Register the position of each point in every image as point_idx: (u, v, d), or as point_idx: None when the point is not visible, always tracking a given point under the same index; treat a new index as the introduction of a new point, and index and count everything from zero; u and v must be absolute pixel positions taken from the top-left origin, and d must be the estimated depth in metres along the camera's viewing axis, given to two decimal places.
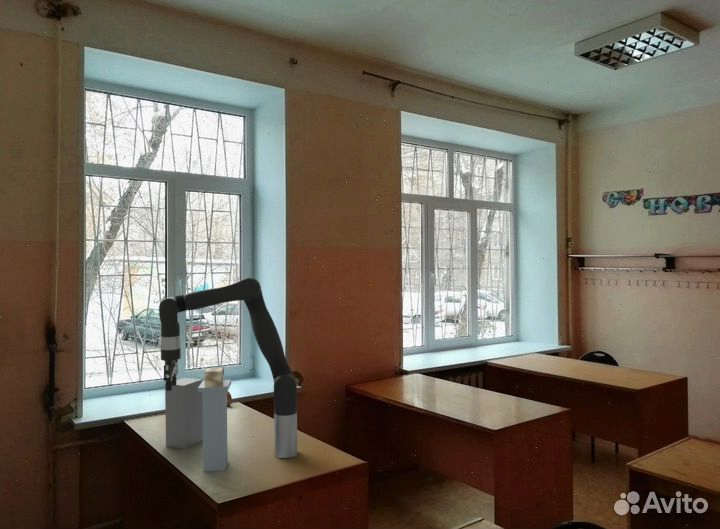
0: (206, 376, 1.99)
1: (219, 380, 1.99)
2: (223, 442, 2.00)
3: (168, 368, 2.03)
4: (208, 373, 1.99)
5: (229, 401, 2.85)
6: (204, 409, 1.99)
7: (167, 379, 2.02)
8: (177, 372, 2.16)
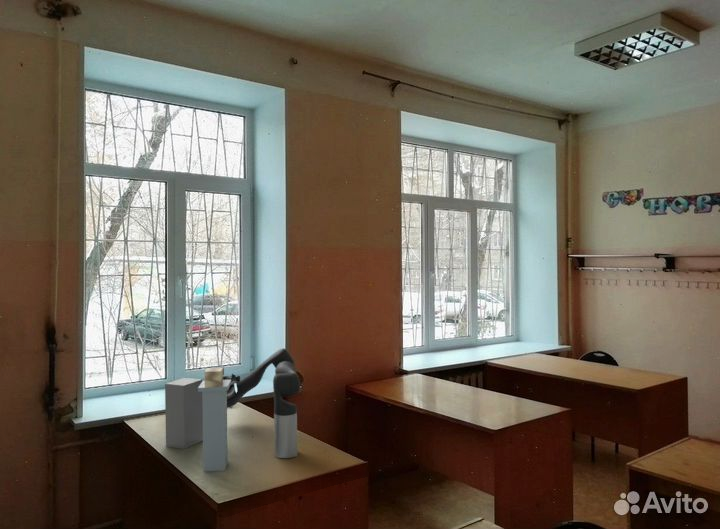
0: (206, 376, 1.99)
1: (219, 380, 1.99)
2: (223, 442, 2.00)
3: (239, 382, 2.38)
4: (208, 373, 1.99)
5: None
6: (204, 409, 1.99)
7: (239, 379, 2.35)
8: None
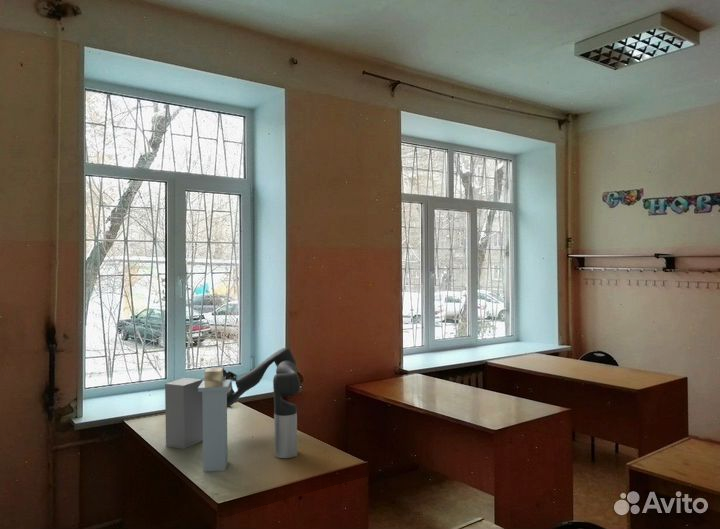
0: (206, 376, 1.99)
1: (219, 380, 1.99)
2: (223, 442, 2.00)
3: (235, 378, 2.21)
4: (208, 373, 1.99)
5: None
6: (204, 409, 1.99)
7: (230, 374, 2.18)
8: None
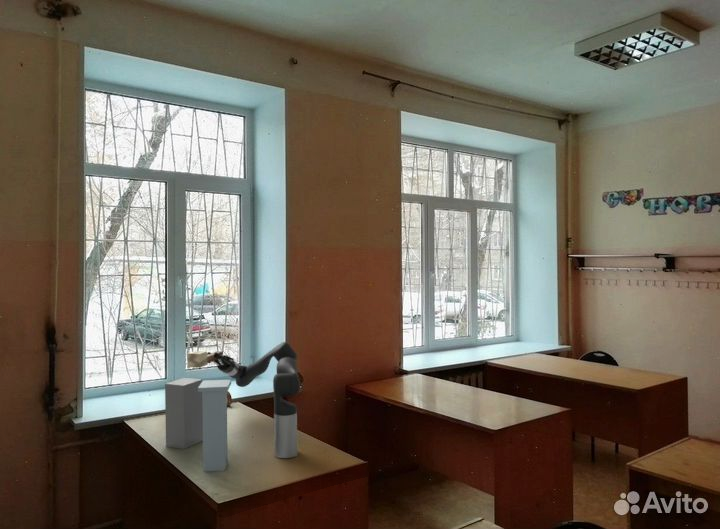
0: (188, 357, 2.30)
1: (198, 361, 2.29)
2: (223, 442, 2.00)
3: (231, 361, 2.49)
4: (190, 355, 2.30)
5: (229, 401, 2.85)
6: (204, 409, 1.99)
7: (224, 358, 2.46)
8: None
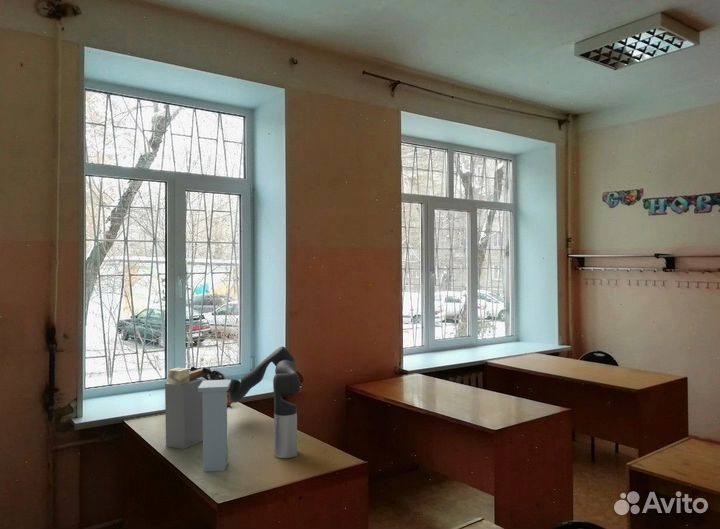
0: (169, 374, 2.25)
1: (178, 379, 2.24)
2: (223, 442, 2.00)
3: (219, 377, 2.43)
4: (171, 372, 2.25)
5: (229, 401, 2.85)
6: (204, 409, 1.99)
7: (213, 373, 2.40)
8: None
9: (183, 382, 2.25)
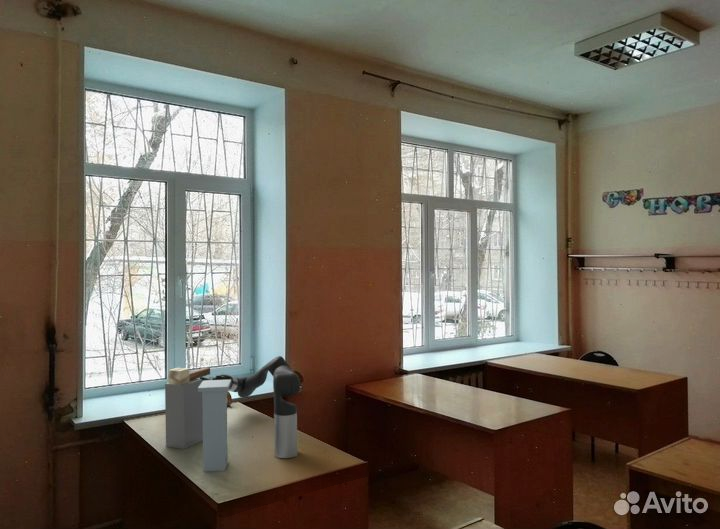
0: (169, 374, 2.25)
1: (178, 379, 2.24)
2: (223, 442, 2.00)
3: (231, 381, 2.53)
4: (171, 372, 2.25)
5: (229, 401, 2.85)
6: (204, 409, 1.99)
7: (227, 378, 2.49)
8: None
9: (183, 382, 2.25)
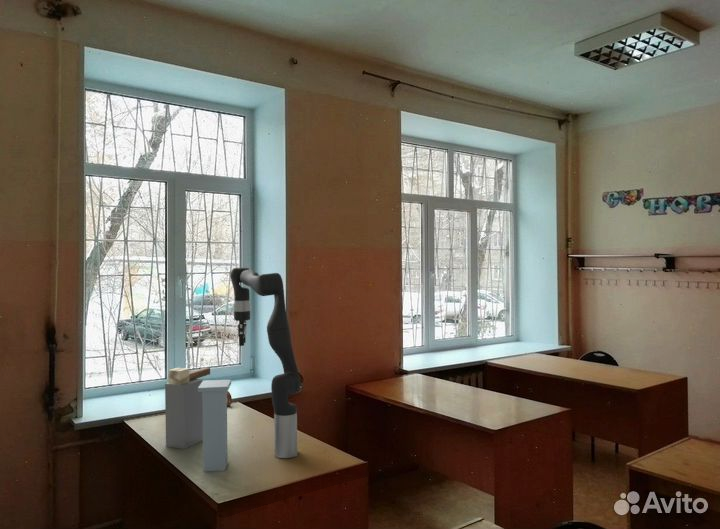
0: (169, 374, 2.25)
1: (178, 379, 2.24)
2: (223, 442, 2.00)
3: (242, 326, 2.42)
4: (171, 372, 2.25)
5: (229, 401, 2.85)
6: (204, 409, 1.99)
7: (241, 335, 2.41)
8: None
9: (183, 382, 2.25)
